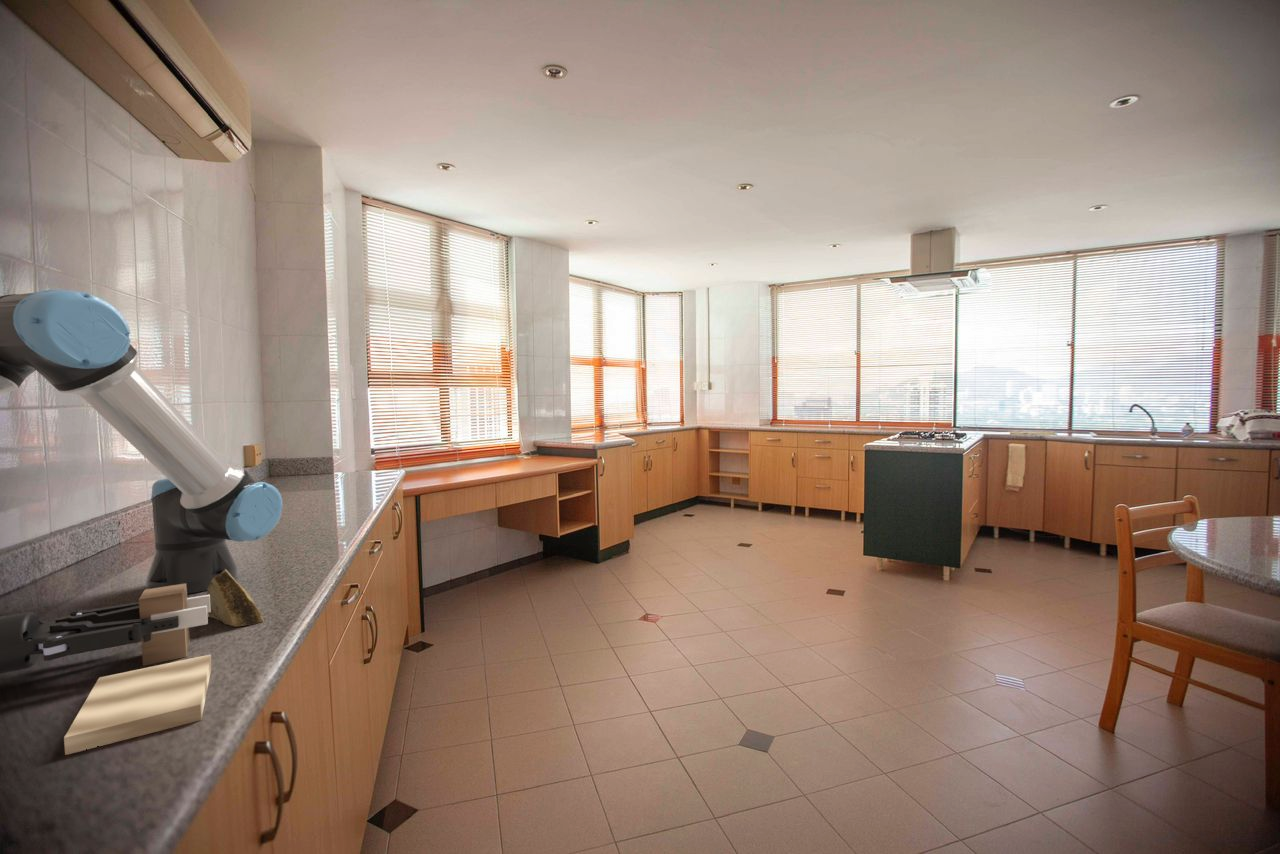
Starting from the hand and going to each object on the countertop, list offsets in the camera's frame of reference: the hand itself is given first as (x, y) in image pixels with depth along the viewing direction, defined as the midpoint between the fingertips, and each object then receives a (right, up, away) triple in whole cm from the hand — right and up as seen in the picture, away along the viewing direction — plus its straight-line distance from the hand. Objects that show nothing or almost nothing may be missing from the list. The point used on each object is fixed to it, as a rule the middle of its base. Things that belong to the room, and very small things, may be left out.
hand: (208, 608), depth 90 cm
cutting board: (+5, -7, -17) cm, 19 cm away
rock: (-4, -6, +11) cm, 13 cm away
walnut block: (-4, -6, -2) cm, 8 cm away
